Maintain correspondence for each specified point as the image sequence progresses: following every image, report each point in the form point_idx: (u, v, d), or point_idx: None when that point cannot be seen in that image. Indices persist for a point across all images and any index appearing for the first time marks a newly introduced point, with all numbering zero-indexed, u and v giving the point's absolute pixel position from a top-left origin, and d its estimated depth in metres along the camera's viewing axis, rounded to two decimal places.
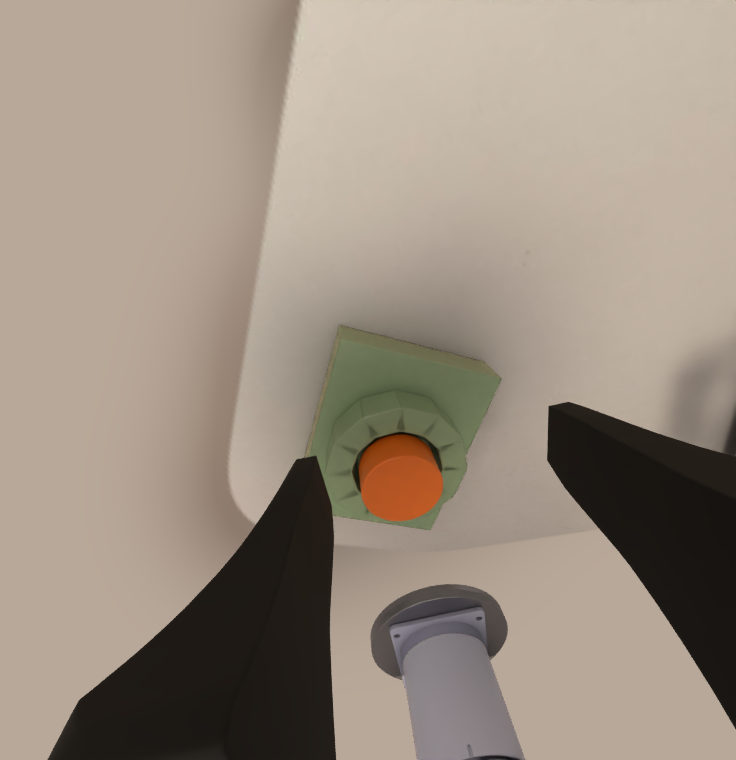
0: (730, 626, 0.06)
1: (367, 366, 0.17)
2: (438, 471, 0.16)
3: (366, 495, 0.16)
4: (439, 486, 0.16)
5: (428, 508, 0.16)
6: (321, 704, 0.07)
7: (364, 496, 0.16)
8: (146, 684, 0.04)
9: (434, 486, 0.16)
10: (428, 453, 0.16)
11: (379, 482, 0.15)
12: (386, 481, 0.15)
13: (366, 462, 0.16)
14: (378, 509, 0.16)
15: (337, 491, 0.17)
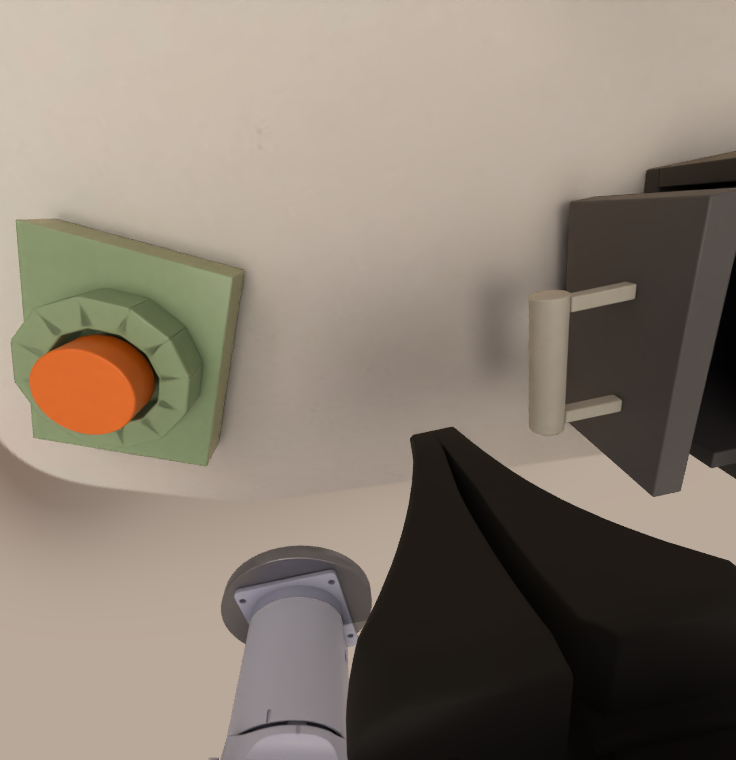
0: None
1: (60, 256, 0.14)
2: (119, 370, 0.13)
3: (39, 399, 0.14)
4: (127, 389, 0.14)
5: (125, 418, 0.14)
6: None
7: (37, 400, 0.14)
8: (425, 625, 0.04)
9: (120, 389, 0.14)
10: (118, 353, 0.14)
11: (48, 382, 0.13)
12: (57, 381, 0.13)
13: None
14: (62, 418, 0.14)
15: None
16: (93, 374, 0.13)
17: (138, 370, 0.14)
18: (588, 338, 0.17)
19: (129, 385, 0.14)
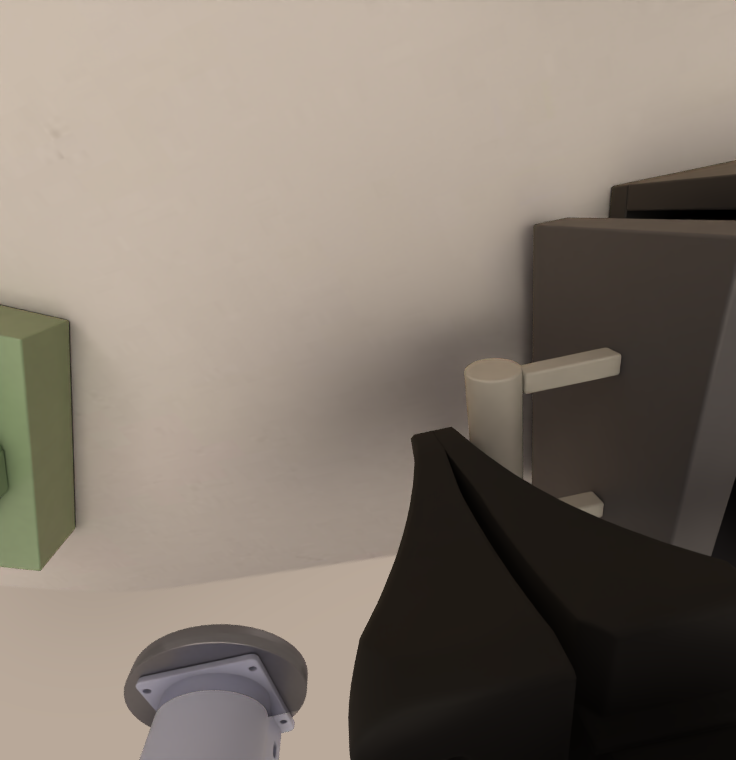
0: None
1: None
2: None
3: None
4: None
5: None
6: None
7: None
8: (429, 624, 0.04)
9: None
10: None
11: None
12: None
13: None
14: None
15: None
16: None
17: None
18: (560, 408, 0.13)
19: None
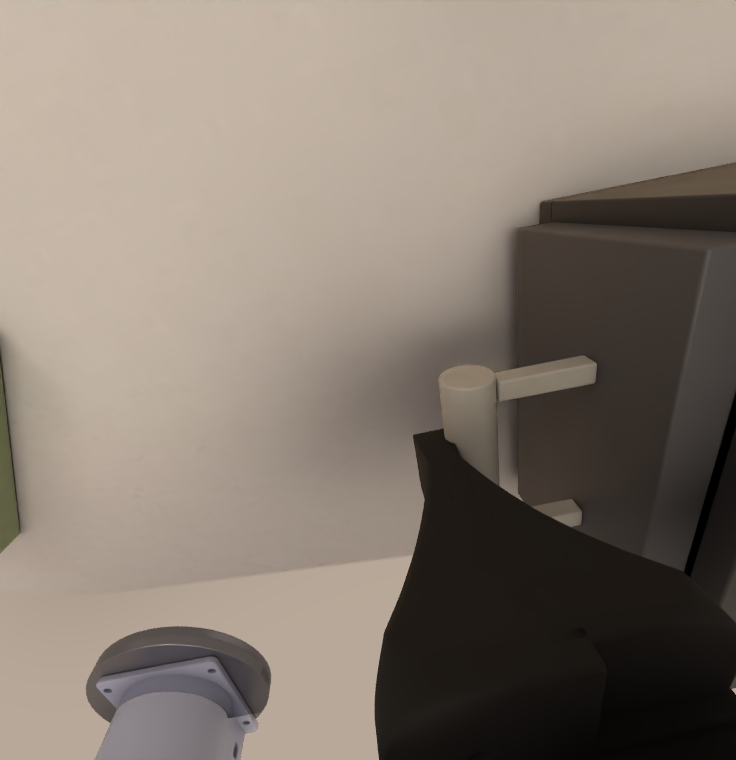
0: None
1: None
2: None
3: None
4: None
5: None
6: None
7: None
8: (453, 618, 0.04)
9: None
10: None
11: None
12: None
13: None
14: None
15: None
16: None
17: None
18: (542, 414, 0.13)
19: None
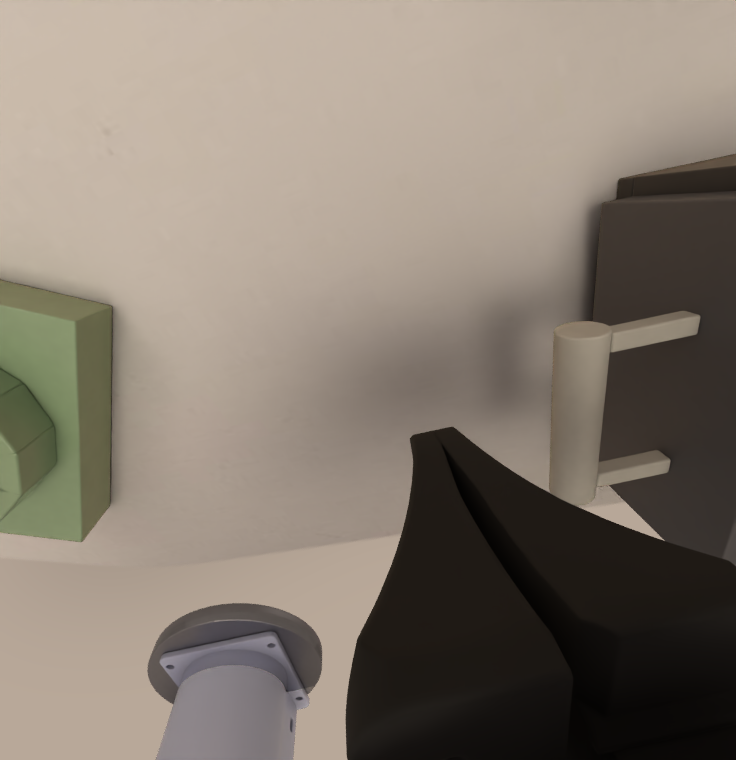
0: None
1: None
2: None
3: None
4: None
5: None
6: None
7: None
8: (426, 624, 0.04)
9: None
10: None
11: None
12: None
13: None
14: None
15: None
16: None
17: None
18: (623, 375, 0.14)
19: None
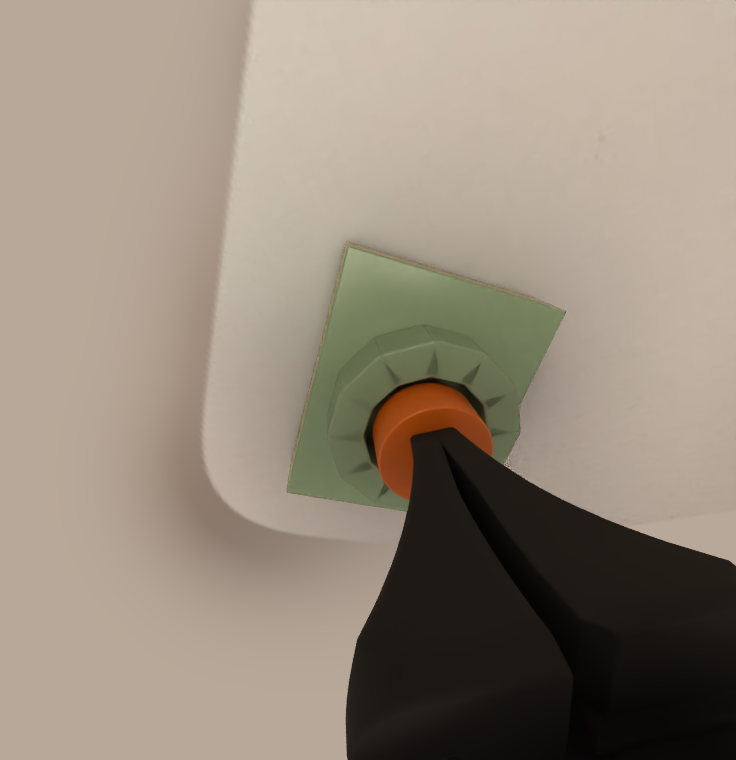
0: None
1: (385, 288, 0.12)
2: (487, 430, 0.11)
3: (385, 465, 0.11)
4: (487, 452, 0.11)
5: None
6: None
7: (382, 466, 0.11)
8: (426, 625, 0.04)
9: None
10: (471, 407, 0.11)
11: (404, 445, 0.11)
12: None
13: (384, 419, 0.11)
14: (402, 485, 0.11)
15: (343, 463, 0.13)
16: None
17: None
18: None
19: (489, 447, 0.11)
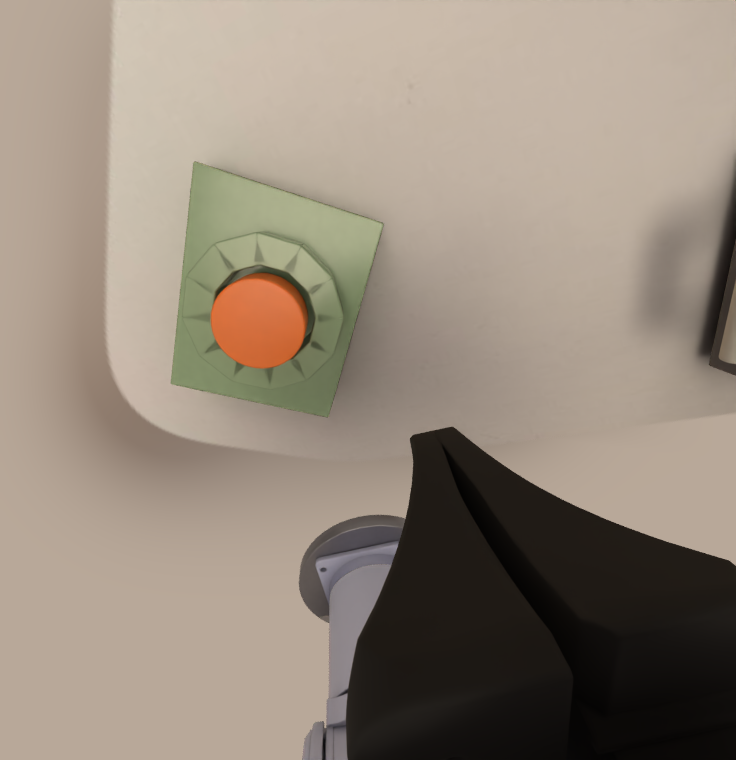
0: None
1: (229, 198, 0.15)
2: (296, 302, 0.14)
3: (217, 330, 0.14)
4: (299, 322, 0.14)
5: (292, 352, 0.15)
6: None
7: (215, 331, 0.14)
8: (425, 625, 0.04)
9: (294, 321, 0.14)
10: (289, 288, 0.14)
11: (229, 312, 0.14)
12: (237, 311, 0.14)
13: None
14: (234, 350, 0.14)
15: (198, 341, 0.16)
16: (272, 305, 0.14)
17: (303, 306, 0.15)
18: None
19: (301, 318, 0.14)
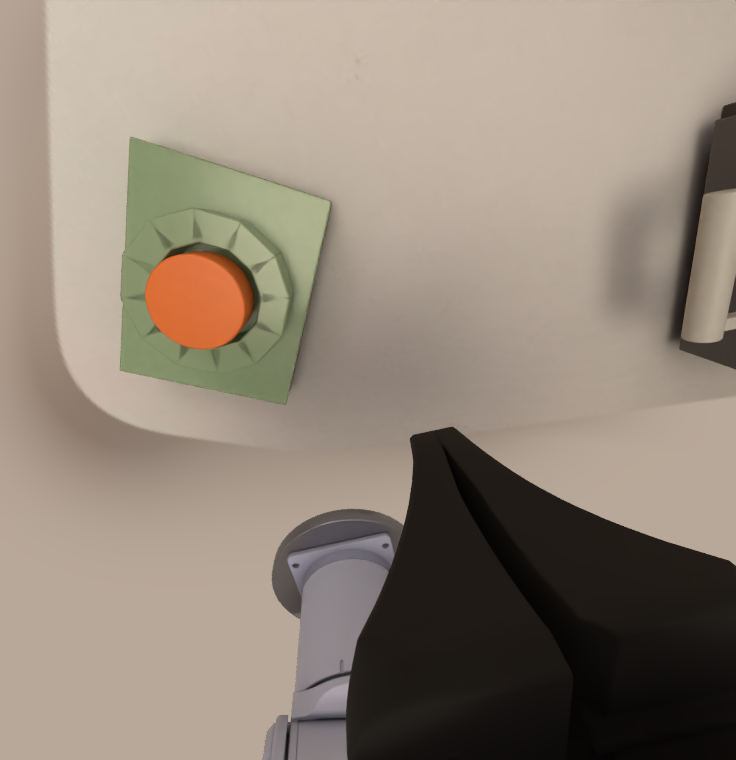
0: None
1: (168, 175, 0.15)
2: (233, 279, 0.14)
3: (153, 309, 0.14)
4: (239, 300, 0.14)
5: (233, 332, 0.14)
6: None
7: (150, 310, 0.14)
8: (426, 624, 0.04)
9: (232, 299, 0.14)
10: (229, 265, 0.14)
11: (164, 290, 0.13)
12: (172, 288, 0.13)
13: None
14: (172, 330, 0.14)
15: (140, 323, 0.15)
16: (208, 282, 0.13)
17: (245, 285, 0.14)
18: None
19: (241, 296, 0.14)
